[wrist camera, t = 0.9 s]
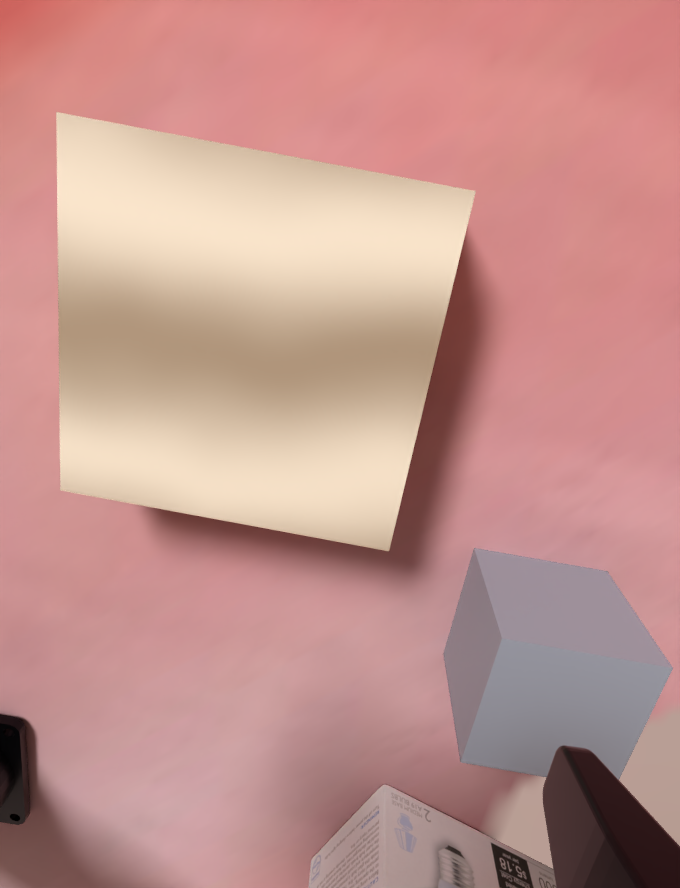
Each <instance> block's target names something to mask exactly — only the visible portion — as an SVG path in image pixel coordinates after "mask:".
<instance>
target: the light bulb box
mask: <svg viewBox="0 0 680 888" xmlns="http://www.w3.org/2000/svg"><path fill="white" fill-rule="evenodd" d="M309 888H556V881H555V875H554V869H552V868H550V867H548V866H545V865H544V864H542V863H540V862H538V861H536V860H534V859H532V858H530V857H528V856H526V855H524V854H522V853H520V852H518V851H516V850H514V849H512V848H511V847H509V846H507V845H505V844H503V843H501V842H499V841H497V840H495V839H493V838H491V837H489V836H487V835H485V834H483V833H481V832H479V831H477V830H475V829H473V828H471V827H469V826H467V825H465V824H463V823H461V822H460V821H458V820H456V819H454V818H452V817H450V816H448V815H446V814H444V813H442V812H440V811H438V810H436V809H434V808H432V807H430V806H428V805H426V804H424V803H422V802H420V801H418V800H416V799H414V798H412V797H411V796H409V795H407V794H405V793H403V792H401V791H399V790H397V789H395V788H393V787H391V786H389V785H382V786H381V787H380V788H379V789H378V790H377V791H376V792H375V793H374V794H373V795H372V796H371V797H370V798H369V799H368V800H367V801H366V802H365V803H364V804H363V805H362V806H361V807H360V809H359V810H358V811H357V812H356V813H354V815H353V816H352V817H351V818H350V819H349V820H348V821H347V822H346V823H345V824H344V825H343V826H342V827H341V828H340V829H339V831H338V832H337V833H336V834H335V835H334V836H333V837H332V838H331V839H330V840H329V841H328V842H327V843H326V844H325V845H324V846H323V847H322V848H321V849H320V851H319V852H318V853H317V854H316V855H315V856H314V857H313V858H312V859H311V867H310V877H309Z"/></svg>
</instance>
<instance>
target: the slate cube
mask: <svg viewBox="0 0 680 888" xmlns="http://www.w3.org/2000/svg"><path fill="white" fill-rule="evenodd" d="M444 661H445V667H446V673H447V680H448V686H449V692H450V699H451V705H452V711H453V717H454V724H455V730H456V736H457V743H458V749H459V755H460V762H462V763H467V764H473V765H479V766H485V767H490V768H496V769H502V770H508V771H513V772H519V773H525V774H531V775H536V776H542V777H547V775H548V772H549V769H550V766H551V763H552V761H553V758H554V755H555V752H556V750H557V749H558V748H559V747H560V746H562V745H566V746H573V747H581V748H586V749H589V750H590V751H592V752H593V753H594V754H595V755H596V756H597V757H598V758H599V759H600V760H601V761H602V762H603V763H604V765H605V766H606V767H607V768H608V769H609V770H610V771H611V772H612V773H613V774H614V775H615V777H616V778H617V779H618V780H619V778H620V776H621V774H622V772H623V770H624V768H625V766H626V764H627V762H628V760H629V758H630V756H631V754H632V752H633V750H634V747H635V745H636V743H637V741H638V739H639V737H640V735H641V733H642V731H643V729H644V727H645V725H646V723H647V721H648V719H649V717H650V715H651V712H652V710H653V708H654V706H655V704H656V702H657V700H658V698H659V696H660V694H661V692H662V690H663V688H664V686H665V684H666V682H667V679H668V677H669V675H670V673H671V671H672V669H673V668H672V666H671V665H670V663H669V662H668V660H667V659H666V657H665V656H664V654H663V653H662V651H661V650H660V648H659V647H658V645H657V644H656V642H655V641H654V640H653V638H652V637H651V635H650V634H649V632H648V631H647V629H646V628H645V626H644V625H643V623H642V622H641V620H640V619H639V617H638V616H637V614H636V613H635V612H634V610H633V609H632V607H631V606H630V604H629V603H628V601H627V600H626V598H625V597H624V595H623V594H622V592H621V591H620V589H619V588H618V587H617V585H616V584H615V582H614V581H613V579H612V578H611V576H610V575H609V573H608V572H607V571H603V570H597V569H591V568H585V567H580V566H574V565H568V564H563V563H557V562H551V561H545V560H540V559H534V558H528V557H522V556H517V555H511V554H505V553H499V552H494V551H488V550H482V549H476V548H474V550H473V554H472V557H471V561H470V564H469V568H468V571H467V575H466V578H465V581H464V585H463V588H462V592H461V595H460V599H459V602H458V605H457V609H456V612H455V616H454V619H453V623H452V626H451V630H450V633H449V636H448V640H447V643H446V647H445V650H444Z"/></svg>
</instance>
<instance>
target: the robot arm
mask: <svg viewBox="0 0 680 888" xmlns="http://www.w3.org/2000/svg"><path fill="white" fill-rule="evenodd" d="M543 805H544V812H545V818H546V825H547V830H548V837H549V843H550V850H551V856H552V862H553V869H554V875H555V881H556V888H680V846H679V845H678V844H677V843H676V842H675V841H674V840H673V839H672V838H671V836H670V835H669V834H668V833H667V832H666V831H665V830H664V829H663V828H662V827H661V825H659V823H658V822H657V821H656V820H655V819H654V818H653V817H652V816H651V815H650V814H649V813H648V811H647V810H646V809H645V808H644V807H643V806H642V805H641V804H640V803H639V802H638V800H637V799H636V798H635V797H634V796H633V795H632V794H631V793H630V792H629V791H628V790H627V788H626V787H625V786H624V785H623V784H622V783H621V782H620V781H619V780H618V779H617V778H616V777H615V775H614V774H613V773H612V772H611V771H610V770H609V769H608V768H607V767H606V766H605V765H604V763H603V762H602V761H601V760H600V759H599V758H598V757H597V756H596V755H595V754H594V753H593V752H592V751H590V750H589V749H586V748H581V747H573V746H566V745H562V746H560V747H559V748H558V749H557V750H556V752H555V755H554V758H553V761H552V763H551V766H550V769H549V772H548V775H547V778H546V780H545V784H544V788H543ZM29 814H30V800H29V783H28V765H27V748H26V731H25V725H24V723H23V722H22V721H21V720H20V719H18V718H15V717H10V716H4V715H0V822H4V823H10V824H16V825H20V824H23V823H24V822H25V820H26V819H27V817H28V815H29Z"/></svg>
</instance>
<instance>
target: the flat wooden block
mask: <svg viewBox="0 0 680 888" xmlns="http://www.w3.org/2000/svg"><path fill="white" fill-rule="evenodd" d="M56 118H57V213H58V309H59V404H60V490H61V491H67V492H72V493H77V494H83V495H88V496H94V497H99V498H104V499H110V500H115V501H121V502H126V503H131V504H137V505H142V506H147V507H153V508H158V509H164V510H169V511H174V512H180V513H185V514H191V515H196V516H201V517H207V518H212V519H218V520H223V521H228V522H234V523H239V524H245V525H250V526H255V527H261V528H266V529H271V530H277V531H282V532H288V533H293V534H298V535H304V536H309V537H315V538H320V539H325V540H331V541H336V542H342V543H347V544H352V545H358V546H363V547H369V548H374V549H379V550H385V551H389V549H390V545H391V541H392V536H393V532H394V528H395V524H396V520H397V516H398V512H399V507H400V503H401V499H402V495H403V491H404V487H405V483H406V478H407V474H408V470H409V466H410V462H411V458H412V453H413V449H414V445H415V441H416V437H417V433H418V429H419V424H420V420H421V416H422V412H423V408H424V404H425V400H426V395H427V391H428V387H429V383H430V379H431V375H432V370H433V366H434V362H435V358H436V354H437V350H438V346H439V341H440V337H441V333H442V329H443V325H444V321H445V317H446V312H447V308H448V304H449V300H450V296H451V292H452V287H453V283H454V279H455V275H456V271H457V267H458V263H459V258H460V254H461V250H462V246H463V242H464V238H465V234H466V229H467V225H468V221H469V217H470V213H471V209H472V204H473V200H474V196H475V192H476V191H472V190H467V189H462V188H456V187H451V186H446V185H441V184H435V183H430V182H425V181H419V180H414V179H409V178H403V177H398V176H393V175H387V174H382V173H377V172H372V171H366V170H361V169H356V168H350V167H345V166H340V165H334V164H329V163H324V162H319V161H313V160H308V159H303V158H297V157H292V156H287V155H281V154H276V153H271V152H265V151H260V150H255V149H250V148H244V147H239V146H234V145H228V144H223V143H218V142H212V141H207V140H202V139H196V138H191V137H186V136H181V135H175V134H170V133H165V132H159V131H154V130H149V129H143V128H138V127H133V126H127V125H122V124H117V123H112V122H106V121H101V120H96V119H90V118H85V117H80V116H74V115H69V114H64V113H58V112H56Z"/></svg>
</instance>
